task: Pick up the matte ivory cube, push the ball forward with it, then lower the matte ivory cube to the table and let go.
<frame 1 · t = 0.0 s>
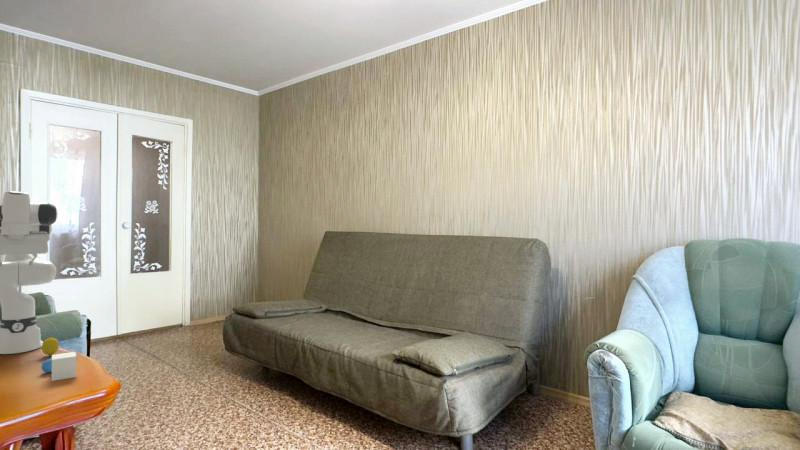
hand: (15, 265, 174), 39 cm above the table, tool pointing down, fingers open, 8 cm apart
lemon: (50, 356, 184), on the table
matte ivory cube: (63, 376, 161), on the table
ball: (50, 365, 164), on the table
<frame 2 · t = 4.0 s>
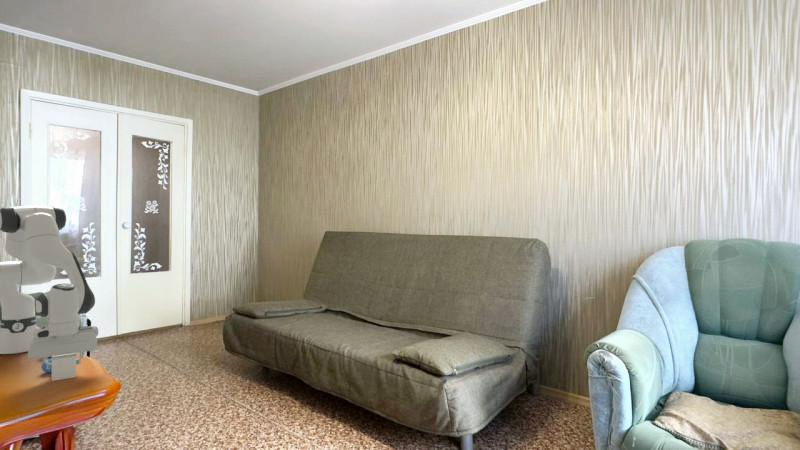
hand: (63, 366, 161), 4 cm above the table, tool pointing down, fingers closed on matte ivory cube, 7 cm apart
matte ivory cube: (63, 376, 161), on the table, touching gripper
everything else where it was.
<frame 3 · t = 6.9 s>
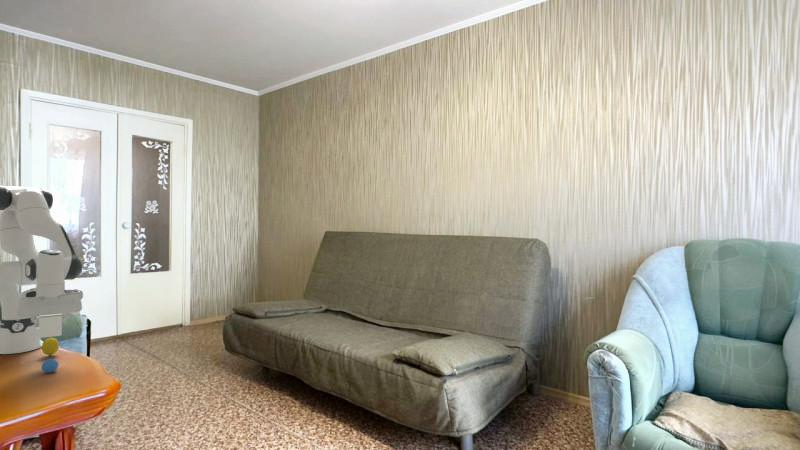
hand: (50, 325, 174), 15 cm above the table, tool pointing down, fingers closed on matte ivory cube, 7 cm apart
matte ivory cube: (50, 334, 174), point 12 cm above the table, touching gripper
everything else where it was.
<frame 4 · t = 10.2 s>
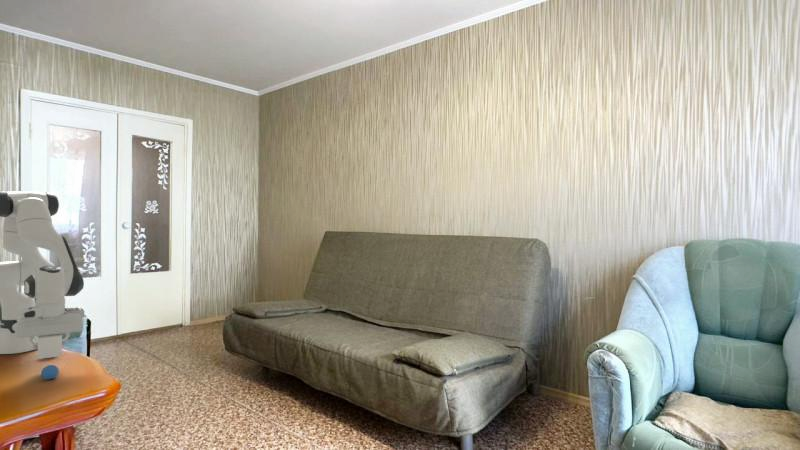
hand: (50, 346, 165), 10 cm above the table, tool pointing down, fingers closed on matte ivory cube, 7 cm apart
matte ivory cube: (49, 354, 166), point 6 cm above the table, touching gripper
ball: (49, 372, 158), on the table
everything else where it was.
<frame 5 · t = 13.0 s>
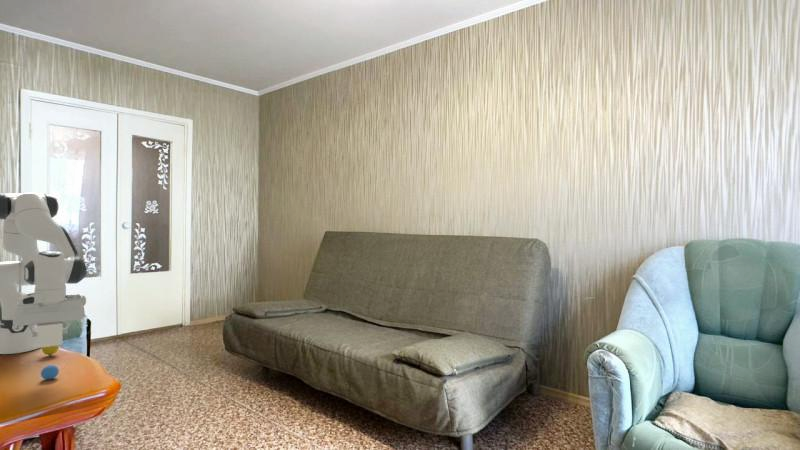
hand: (50, 334, 157), 16 cm above the table, tool pointing down, fingers closed on matte ivory cube, 7 cm apart
matte ivory cube: (50, 343, 158), point 13 cm above the table, touching gripper
everything else where it was.
when the fingers open (4 cm above the table, at t = 15.8 s): matte ivory cube stays where it is, on the table.
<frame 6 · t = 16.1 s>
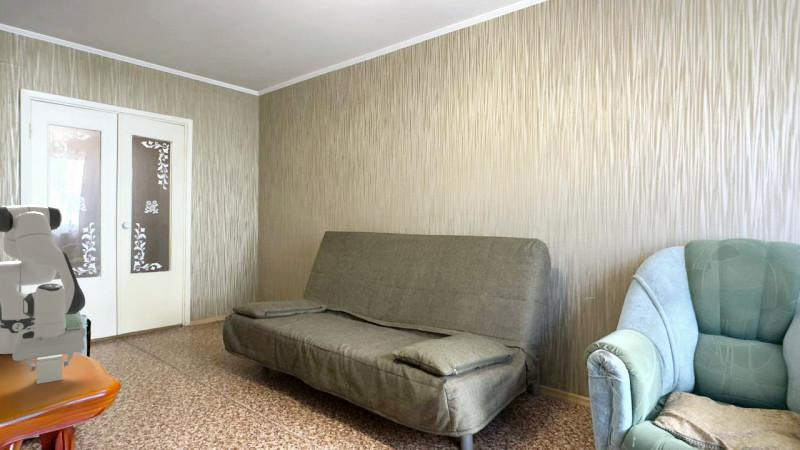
hand: (49, 368, 157), 4 cm above the table, tool pointing down, fingers open, 8 cm apart
matte ivory cube: (49, 378, 158), on the table
everything else where it was.
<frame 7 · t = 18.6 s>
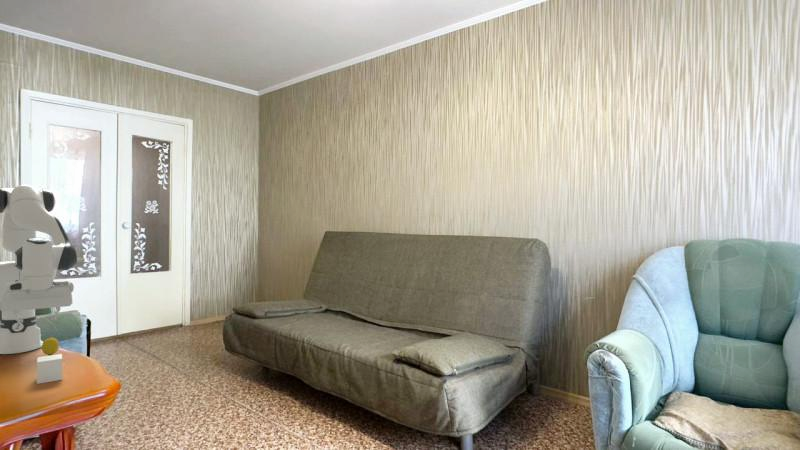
hand: (37, 320, 159), 21 cm above the table, tool pointing down, fingers open, 8 cm apart
nothing on the table moved.
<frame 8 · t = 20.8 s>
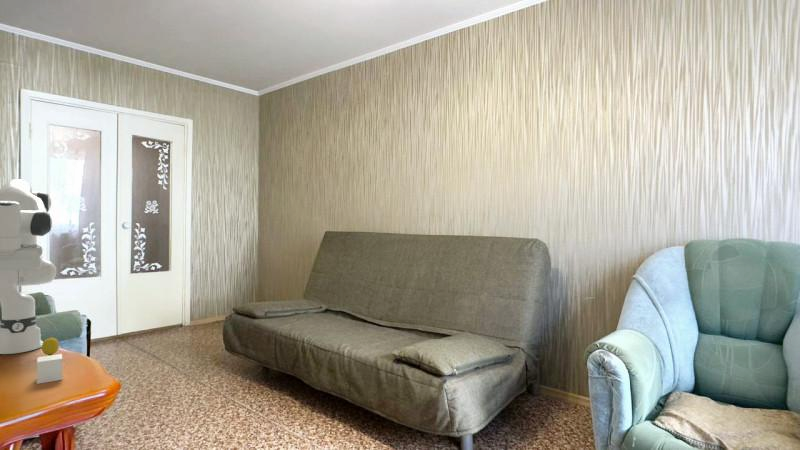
hand: (5, 282, 161), 34 cm above the table, tool pointing down, fingers open, 8 cm apart
nothing on the table moved.
at the end: ball 0.4 cm from the matte ivory cube (horizontally); matte ivory cube on the table; ball moved 8.8 cm from its start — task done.
